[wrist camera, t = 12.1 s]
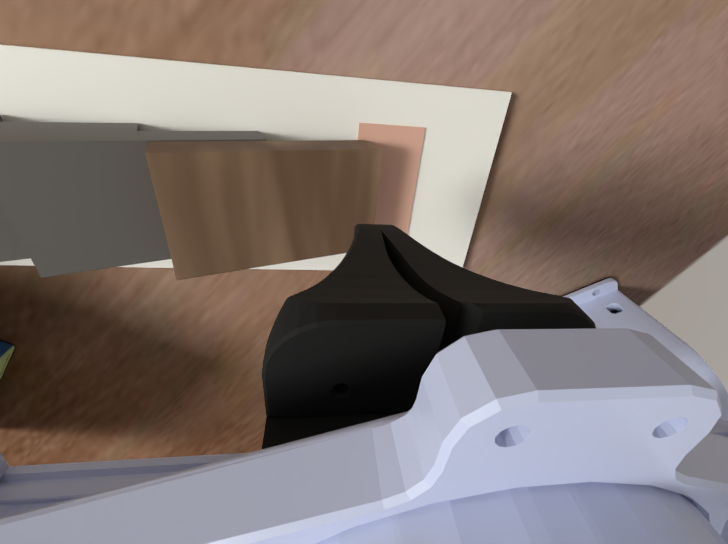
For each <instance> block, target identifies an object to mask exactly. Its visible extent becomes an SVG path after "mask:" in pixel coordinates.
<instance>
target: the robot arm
mask: <svg viewBox="0 0 728 544" xmlns="http://www.w3.org/2000/svg"><path fill="white" fill-rule="evenodd" d="M262 379H263V388H264V397H265V406H266V415H267V419H266V425H265V432H264V438H263V445H262V450H258V451H254V452H250V453H237V454H219V455H201V456H184V457H166V458H148V459H130V460H113V461H95V462H77V463H59V464H42V465H24V466H8V464H7V462H6V460H5V458H4V457H3V455H2V454H1V453H0V544H728V394H727V391H726V389H725V387H724V386H723V384H722V382H721V381H720V379H719V378H718V377H717V375H716V374H715V373H714V371H713V370H712V369H711V368H710V366H709V365H708V364H707V363H706V362H705V361H704V360H703V358H702V357H700V355H699V354H697V352H696V351H694V350H693V349H692V348H691V347H690V346H689V345H687V344H686V343H685V342H684V341H682V340H681V339H680V338H679V337H677V336H676V335H674V334H673V333H672V332H671V331H669V330H668V329H667V328H666V327H664V326H663V325H662V324H661V323H659V322H658V321H657V320H655V319H654V318H653V317H652V316H650V315H649V314H648V313H647V312H645V311H644V310H643V309H642V308H640V307H639V306H638V305H636V304H635V303H634V302H633V301H631V300H630V299H629V298H627V297H626V296H625V295H624V294H622V293H621V292H620V291H619V290H618V283H617V281H615V280H614V279H613V278H608V279H605V280H603V281H600V282H598V283H595V284H593V285H590V286H588V287H585V288H583V289H580V290H578V291H575V292H573V293H570V294H568V295H565V296H563V297H562V296H557V295H552V294H547V293H542V292H536V291H532V290H527V289H524V288H520V287H516V286H512V285H509V284H505V283H502V282H499V281H496V280H493V279H490V278H487V277H484V276H482V275H479V274H476V273H474V272H471V271H469V270H467V269H464V268H462V267H460V266H458V265H456V264H454V263H452V262H450V261H448V260H446V259H444V258H443V257H441V256H439V255H438V254H436V253H434V252H432V251H431V250H429V249H428V248H426V247H425V246H423V245H422V244H420V243H419V242H417V241H416V240H415V239H413V238H412V237H410V236H409V235H408V234H406V233H405V232H403V231H402V230H400V229H399V228H397V227H396V226H394V225H382V224H357V225H356V226H355V228H354V239H353V242H352V244H351V246H350V248H349V250H348V252H347V253H346V255H345V257H344V258H343V260H342V261H341V262H340V264H339V265H338V266H337V267H336V268H335V269H334V270H333V271H332V272H331V273H330V274H329V275H328V276H327V277H326V278H325V279H324V280H322V281H321V282H319V283H318V284H316V285H314V286H313V287H311V288H309V289H307V290H305V291H302V292H300V293H298V294H295V295H293V296H290V297H288V298H287V299H286V301H285V303H284V305H283V306H282V308H281V310H280V312H279V314H278V316H277V318H276V320H275V323H274V325H273V327H272V330H271V333H270V335H269V338H268V341H267V345H266V349H265V355H264V360H263V369H262Z"/></svg>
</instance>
